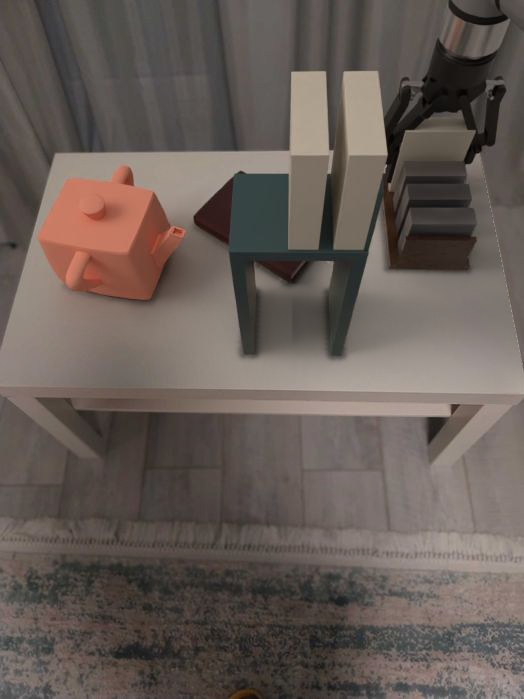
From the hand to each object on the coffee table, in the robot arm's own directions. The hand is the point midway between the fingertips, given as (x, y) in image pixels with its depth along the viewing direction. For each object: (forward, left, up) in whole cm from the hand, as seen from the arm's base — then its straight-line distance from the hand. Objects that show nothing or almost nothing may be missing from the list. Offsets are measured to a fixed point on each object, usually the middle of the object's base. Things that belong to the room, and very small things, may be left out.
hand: (421, 177), depth 81 cm
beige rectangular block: (0, 0, -2) cm, 2 cm away
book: (+1, +27, -3) cm, 27 cm away
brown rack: (-6, +2, -3) cm, 7 cm away
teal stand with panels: (-17, +29, -3) cm, 34 cm away
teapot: (+1, +49, -3) cm, 49 cm away
